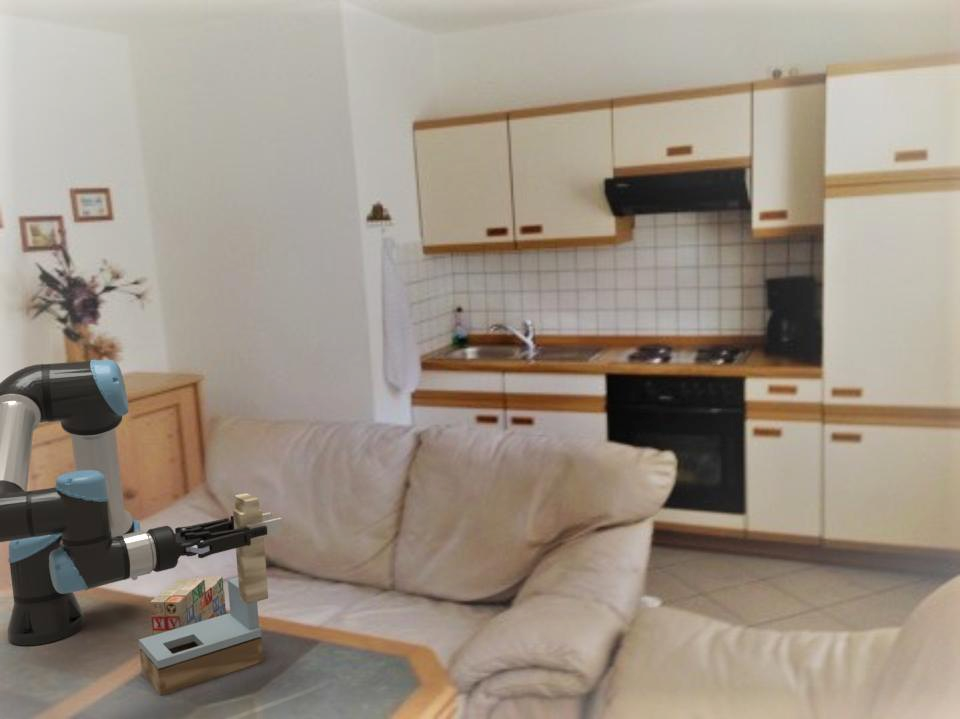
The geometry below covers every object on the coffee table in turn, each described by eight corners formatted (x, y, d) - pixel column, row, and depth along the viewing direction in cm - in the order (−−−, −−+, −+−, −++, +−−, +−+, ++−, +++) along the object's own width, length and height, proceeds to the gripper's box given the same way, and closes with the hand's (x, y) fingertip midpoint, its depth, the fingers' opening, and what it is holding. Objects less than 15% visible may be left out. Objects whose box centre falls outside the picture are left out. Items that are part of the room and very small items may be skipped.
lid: (139, 646, 165) (135, 602, 164) (238, 617, 177) (235, 576, 176) (158, 668, 155) (154, 621, 154) (261, 636, 167) (258, 592, 166)
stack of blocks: (200, 615, 194) (196, 563, 193) (226, 615, 193) (222, 563, 192) (154, 658, 173) (149, 600, 172) (183, 659, 172) (178, 601, 171)
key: (238, 596, 160) (230, 496, 158) (258, 591, 162) (250, 492, 160) (249, 605, 156) (241, 502, 153) (269, 599, 158) (262, 498, 156)
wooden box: (142, 676, 165) (139, 648, 165) (240, 644, 177) (238, 619, 177) (161, 699, 156) (158, 670, 155) (263, 664, 168) (261, 638, 167)
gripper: (137, 559, 154) (259, 531, 168) (166, 585, 140) (296, 552, 154) (134, 519, 153) (257, 494, 167) (162, 542, 140) (294, 512, 154)
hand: (275, 522), depth 161 cm, fingers closed on key, 4 cm apart
